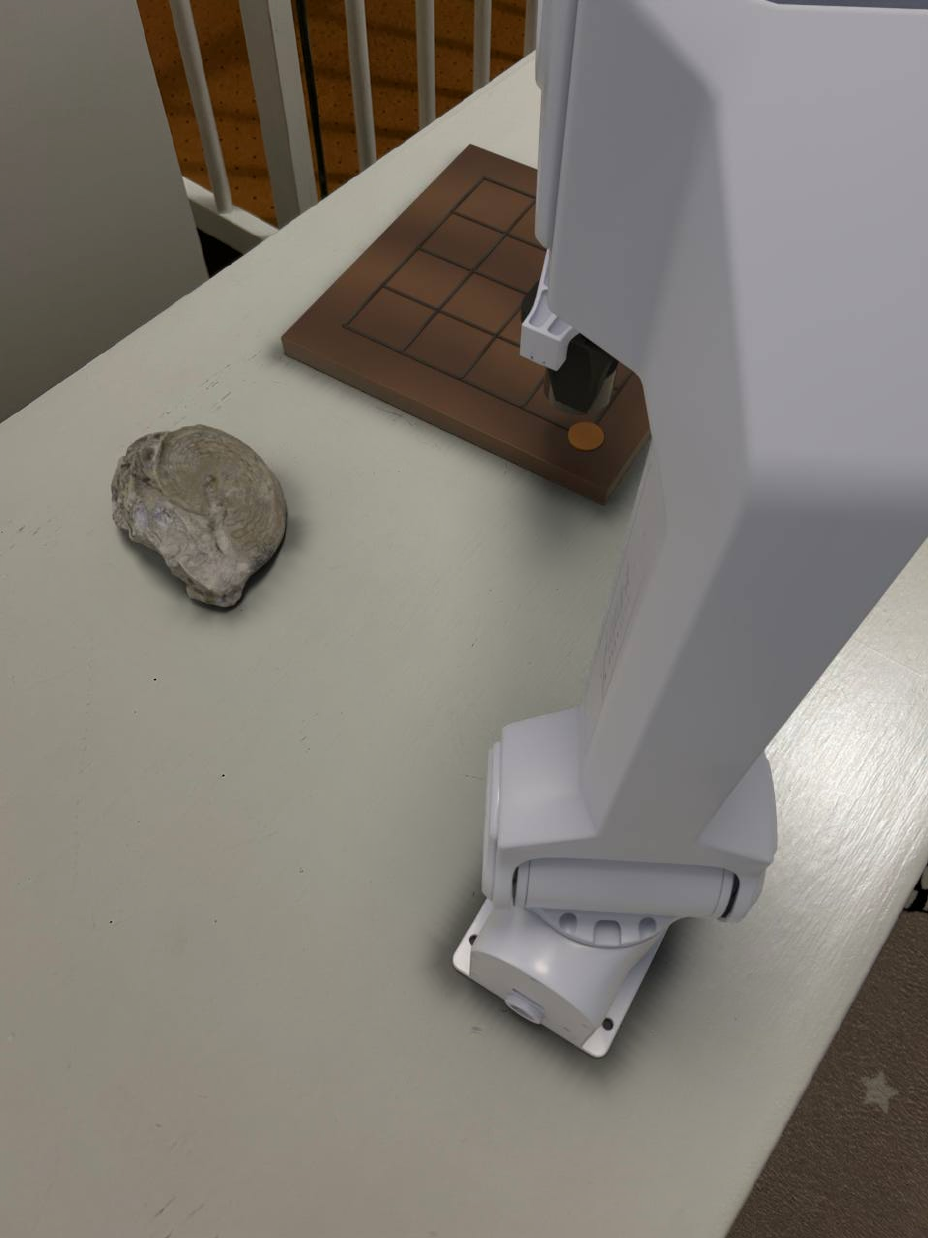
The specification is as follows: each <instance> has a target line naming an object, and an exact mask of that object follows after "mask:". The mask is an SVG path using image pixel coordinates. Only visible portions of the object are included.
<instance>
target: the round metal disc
mask: <svg viewBox="0 0 928 1238" xmlns="http://www.w3.org/2000/svg"><path fill="white" fill-rule="evenodd" d="M618 366H619V361H618V360H617V359H615V360H614V361H613V362H612V363H611V365H610V367H609V369H608V372H607V374H606V377H605V380H604V383H603V385H602V388H601V391H600V393H599V395H598V397H597V399H596V401H595V402H594V404H593V405H592V406H591V408H590V409H589V411H588V412H587V413H582V412H580V411H577V410H575V409H573V408H571V407H569V406H566V405H564V404H562V403H560V402H558V401H555V398H554V394H553V391H552V386H551V382H550V377H549V373H548V369H547V367H546V366H545V375H544V384H543V389H544V394H545V396H546V398H547V400H548V401H549V402H550V403H551V404H552V405H553V406H554V407H555V408H557V409H558V410H560V411H562V412H565V413H568V414H572V415H588V414H592V413H596V412H598V411H600V410H602V409H603V408H604V407H605V406H606V405H607V404H608V403H609V402H610V401H611V398H612V396H613V392H614V387H615V381H616V376H617V371H618Z"/></svg>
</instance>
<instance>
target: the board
mask: <svg viewBox="0 0 928 1238" xmlns="http://www.w3.org/2000/svg"><path fill="white" fill-rule="evenodd" d="M537 170H538V168H535V167H532V166H529V165H527V164H525V163H522V162H519V161H517V160H514V159H511V158H509V157H507V156H504V155H501V154H499V153H496V152H493V151H491V150H488V149H485V148H482V147H481V146H478V145H474V144H473V143H469V144H468V145H467V146H466V147H465V148H463V150H462V151H461V152H460V153H459V154H458V155H457V156H456V157H455V158H454V159H453V160H452V161H451V162H450V163H449V164H448V165H447V166H446V167H445V168H444V170H442V171H441V172H440V173H439V175H438V176H436V177H435V179H433V181H432V182H431V183H430V184H429V185H428V186H426V188H425V189H424V190H423V191H421V193H420V194H419V195H418V196H417V197H416V198H415V199H414V200H413V201H412V202H411V203H410V204H409V205H408V206H407V207H406V208H405V209H404V210H403V211H402V212H401V213H400V214H399V216H398V217H397V218H395V219H394V221H392V222H391V224H389V225H388V226H387V228H386V229H385V230H383V232H381V234H380V235H379V236H378V237H377V238H376V239H375V240H374V241H373V242H372V243H371V244H370V245H369V246H368V247H367V248H366V249H365V250H364V251H363V252H362V253H361V254H360V256H358V258H356V259H355V261H353V263H351V265H350V266H348V268H346V270H345V271H344V272H343V273H342V274H341V275H339V277H338V278H337V279H336V280H335V281H334V282H333V283H332V284H331V285H330V286H329V287H328V288H327V289H326V290H325V291H324V292H323V293H322V294H321V296H319V297H318V298H317V300H315V301H314V302H313V303H312V304H311V305H310V306H309V307H308V308H307V310H306V311H305V312H304V313H303V314H302V315H301V316H300V317H299V318H298V319H297V320H296V321H295V322H294V323H293V324H292V325H291V326H290V327H289V328H288V329H287V330H286V331H285V332H284V333H283V334H282V335H281V336H280V340H281V341H280V342H281V346H282V350H283V354H284V355H286V356H289V357H291V358H293V359H294V360H297V361H299V362H300V363H303V364H305V365H308V366H310V367H312V368H313V369H316V370H317V371H320V372H322V373H324V374H326V375H328V376H331V377H333V378H335V379H337V380H339V381H341V382H343V383H345V384H347V385H349V386H351V387H354V388H356V389H358V390H359V391H362V392H364V393H366V394H368V395H370V396H372V397H375V398H376V399H379V400H380V401H383V402H385V403H387V404H389V405H390V406H391V405H392V406H393V407H396V408H398V409H400V410H402V411H404V412H406V413H408V414H410V415H412V416H415V417H417V418H419V419H421V420H423V421H425V422H427V423H429V424H431V425H433V426H435V427H438V428H440V429H442V430H444V431H446V432H449V433H450V434H453V435H455V436H457V437H458V438H461V439H463V440H465V441H468V442H469V443H471V444H474V445H476V446H478V447H480V448H481V449H484V450H485V451H488V452H490V453H493V454H494V455H497V456H499V457H501V458H503V459H505V460H507V461H509V462H511V463H513V464H515V465H518V466H520V467H522V468H524V469H527V470H528V471H530V472H533V473H534V474H537V475H539V476H541V477H543V478H545V479H548V480H549V481H551V482H554V483H556V484H557V485H559V486H562V487H564V488H566V489H568V490H570V491H572V492H575V493H577V494H579V495H580V496H583V497H584V498H587V499H589V500H591V501H594V502H596V503H597V504H600V505H602V506H605V504H606V503H607V501H608V500H609V499H610V497H611V495H612V494H613V492H614V491H615V490H616V488H617V486H618V485H619V484H620V482H621V480H622V479H623V477H624V476H625V475H626V473H627V471H629V469H630V467H631V465H632V464H633V462H634V461H635V460H636V458H637V456H638V455H639V454H640V452H641V450H642V449H643V447H644V446H645V445H646V443H647V441H648V440H649V438H650V437H651V430H650V424H649V418H648V413H647V407H646V401H645V395H644V390H643V385H642V382H641V379H640V378H639V377H638V376H637V374H636V373H635V372H633V371H632V370H631V369H629V368H628V367H627V366H625V365H624V364H622V363H621V362H620V361H619V366H618V371H617V376H616V381H615V387H614V392H613V396H612V398H611V401H610V402H609V403H608V404H607V405H606V406H605V407H604V408H603V409H602V410H600V411H598V412H596V413H592V414H588V415H572V414H568V413H565V412H562V411H560V410H558V409H557V408H555V407H554V406H553V405H552V404H551V403H550V402H549V401H548V400H547V398H546V396H545V394H544V389H543V384H544V375H545V366H542V365H540V364H538V363H536V362H533V361H531V360H530V359H528V358H525V357H523V356H521V355H520V344H521V330H522V322H521V304H522V300H523V298H524V297H525V296H526V294H527V293H528V292H529V291H530V289H531V288H532V287H533V286H534V285H535V283H536V282H537V281H538V280H539V279H540V278H541V274H542V270H543V265H544V261H545V256H546V252H547V248H544V247H543V246H542V245H541V243H540V242H539V241H538V240H537V239H536V237H535V213H536V192H537Z"/></svg>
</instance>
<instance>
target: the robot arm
mask: <svg viewBox="0 0 928 1238" xmlns="http://www.w3.org/2000/svg"><path fill="white" fill-rule="evenodd" d="M536 11H537V12H536V13H537V14H536V33H535V34H536V35H535V60H534V62H535V64H534V65H535V67H534V79H535V84H536V86H537V87H538V89H539V90H540V107H539V108H540V109H539V129H538V148H537V149H538V150H537V151H538V153H537V169H538V170H537V192H536V213H535V237H536V239H537V240H538V241H539V242H540V243H541V245H542V246H543V247H544V248H547V252H546V256H545V261H544V265H543V270H542V274H541V278H540V279H539V280H538V281H537V282H536V283H535V285H534V286H533V287H532V288H531V289H530V291H529V292H528V293H527V294H526V296H525V297H524V298H523V300H522V304H521V322H522V330H521V344H520V355H521V356H523V357H525V358H528V359H530V360H531V361H533V362H536V363H538V364H540V365H542V366H546V367H547V369H548V373H549V377H550V382H551V386H552V391H553V394H554V398H555V401H558V402H560V403H562V404H564V405H566V406H569V407H571V408H573V409H575V410H577V411H580V412H582V413H587V412H588V411H589V409H590V408H591V406H592V405H593V404H594V402H595V401H596V399H597V397H598V395H599V393H600V391H601V388H602V385H603V383H604V380H605V377H606V374H607V372H608V369H609V367H610V365H611V363H612V362H613V361H614V360H615V359H617V360H618V361H620V362H621V363H622V364H624V365H625V366H627V367H628V368H629V369H631V370H632V371H633V372H635V373H636V374H637V376H638V377H639V378H640V379H641V382H642V385H643V390H644V395H645V401H646V407H647V413H648V418H649V424H650V430H651V435H650V437H651V441H650V444H649V449H648V452H647V456H646V460H645V464H644V467H643V470H642V475H641V478H640V483H639V485H638V489H637V492H636V496H635V501H634V504H633V509H632V511H631V515H630V517H629V522H628V526H627V529H626V534H625V537H624V540H623V544H622V548H621V552H620V555H619V559H618V563H617V566H616V570H615V573H614V576H613V581H612V585H611V588H610V592H609V596H608V599H607V603H606V607H605V610H604V614H603V618H602V621H601V624H600V629H599V633H598V636H597V639H596V644H595V647H594V650H593V654H592V658H591V661H590V665H589V669H588V672H587V676H586V681H585V684H584V686H583V691H582V694H581V698H580V702H579V704H578V705H576V706H572V707H569V708H565V709H561V710H557V711H552V712H549V713H545V714H540V715H537V716H532V717H528V718H525V719H520V720H517V721H513V722H510V723H507V724H505V725H503V726H502V728H501V737H500V739H499V740H497V741H495V742H494V743H493V746H492V747H491V748H490V749H489V750H488V753H487V766H486V767H487V768H486V785H485V805H484V821H483V822H484V823H483V825H484V826H483V847H482V866H481V867H482V870H481V892H482V894H483V895H484V896H485V897H486V899H485V901H484V902H483V904H482V906H481V908H480V909H479V911H478V912H477V914H476V916H475V917H474V919H473V921H472V922H471V924H470V926H469V928H467V931H466V932H465V934H464V935H463V938H462V939H461V941H460V943H459V945H458V946H457V948H456V950H455V951H454V953H453V956H452V965H453V967H454V968H455V969H456V971H458V972H460V973H461V974H463V975H464V976H466V977H467V978H468V979H470V980H472V981H473V982H475V983H477V984H478V985H480V986H482V987H483V988H485V989H486V990H487V991H489V992H491V993H492V994H494V995H496V996H497V997H499V998H500V999H502V1000H503V1001H504V1003H505V1005H507V1007H509V1008H510V1009H511V1010H512V1011H513V1012H515V1013H516V1014H518V1015H519V1016H521V1017H523V1018H524V1019H526V1020H528V1021H530V1022H531V1023H534V1024H537V1025H543V1026H544V1027H545V1028H547V1029H549V1030H550V1031H552V1032H554V1033H555V1034H557V1035H558V1036H560V1037H561V1038H563V1040H566V1041H568V1042H569V1043H571V1044H572V1045H574V1046H575V1047H576V1048H578V1049H580V1050H581V1051H583V1052H585V1053H586V1054H588V1055H589V1056H591V1057H593V1058H598V1059H599V1058H602V1057H603V1056H604V1057H605V1055H606V1054H607V1053H608V1051H609V1049H610V1047H611V1045H612V1043H613V1041H614V1038H615V1037H616V1035H617V1033H618V1032H619V1029H620V1027H621V1025H622V1023H623V1021H624V1019H625V1017H626V1015H627V1013H628V1010H629V1008H630V1007H631V1004H632V1002H633V1000H634V998H635V996H636V995H637V992H638V991H639V988H640V985H641V984H642V982H643V980H644V979H645V976H646V974H647V972H648V970H649V968H650V966H651V963H652V961H653V960H654V958H655V955H656V953H657V951H658V949H659V948H660V945H661V943H662V941H663V939H664V937H665V935H666V933H667V931H668V929H669V927H670V926H671V925H672V924H673V923H675V922H676V921H678V920H680V919H684V918H700V919H707V918H708V919H717V921H719V922H723V923H730V924H737V923H740V922H742V921H743V920H744V919H745V918H746V916H747V915H748V914H749V911H750V910H751V909H753V907H754V906H755V905H756V904H757V902H758V900H759V899H760V896H761V894H762V891H763V888H764V884H765V879H766V872H767V869H768V868H769V867H770V866H771V865H772V864H773V863H774V860H775V854H776V853H777V851H778V847H779V846H778V843H779V842H778V841H779V839H778V838H779V837H778V835H779V834H778V813H777V801H776V800H777V799H776V792H775V785H774V779H773V773H772V768H771V764H770V763H771V762H770V760H769V759H768V757H767V754H766V749H767V748H768V746H769V745H770V743H771V742H772V741H773V740H774V739H775V737H776V736H777V735H778V733H779V732H780V730H781V729H782V728H783V726H784V725H785V724H786V723H787V722H788V720H789V719H790V718H791V716H792V715H793V714H794V712H795V711H796V710H797V709H798V707H799V706H800V705H801V703H802V702H803V701H804V699H805V698H806V697H807V695H808V694H809V693H810V692H811V690H812V689H813V688H814V686H815V685H816V684H817V682H818V681H819V680H820V679H821V677H822V676H823V675H824V674H825V671H827V669H829V667H830V666H831V664H832V663H833V661H835V659H836V657H837V656H838V655H839V654H840V652H841V651H842V650H843V649H844V647H845V646H846V645H847V643H848V642H849V641H850V640H851V638H852V637H853V635H854V634H855V633H856V632H857V630H858V629H859V628H860V627H861V625H862V624H863V622H864V621H865V619H866V618H867V617H868V616H869V615H870V614H871V612H872V611H873V609H874V608H875V607H876V605H877V604H878V603H879V602H880V601H881V599H882V597H884V595H885V594H886V592H887V591H888V590H889V589H890V588H891V586H892V584H894V582H895V580H897V578H898V577H899V575H900V574H901V573H902V572H903V570H904V569H905V568H906V566H907V565H908V564H909V562H910V561H911V560H912V559H913V557H914V556H915V554H916V553H917V552H918V550H920V548H921V547H922V545H923V544H924V543H925V541H926V540H927V539H928V0H537V9H536ZM473 937H475V939H474V941H473V943H472V944H471V943H470V940H471V938H473ZM605 1020H609V1021H610V1022H611V1024H612V1025H611V1026H612V1028H611V1029H606V1028H604V1026H603V1023H604V1021H605Z"/></svg>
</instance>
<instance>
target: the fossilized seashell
mask: <svg viewBox="0 0 928 1238" xmlns="http://www.w3.org/2000/svg"><path fill="white" fill-rule="evenodd" d="M110 490H111V491H110V492H111V508H112V515H111V517H112V521H113V523H114V524H115V526H116V527H117V528H119V529H120V530H124V531H126V532H128V538H129V539H130V541H132V542H133V543H138V544H142V545H143V546H146V547H147V548H149V549H150V550H153V551H155V552H157V553H158V554H159V555H160V556H162V558H163V560H164V562H165V564H166V566H167V567H168V568H169V570H170V572H171V574H172V575H173V576H174V577H176V578H178V579H180V580H181V581H182V582H184V583H185V584H186V586H185V589H186V593H187V595H188V597H189V598H190V599H193V600H197V601H199V602H201V603H205V604H206V605H214V606H216V607H217V606H218V607H221V608H229V607H231V606H235V604H236V603H237V601H239V600H240V599H241V597H242V595H243V590H244V588H245V586H246V582H249V579H250V577H252V575H254V574H255V573H257V572H258V571H259V570H260V569H261V568H262V567H263V566H264V565H265V564H266V563H267V562H269V560H270V559H271V558H272V557H273V555H274V554H275V553H276V551H277V549H278V548H279V546H280V544H282V541H283V538H284V535H285V531H286V525H287V511H288V507H287V501H286V499H285V498H284V492H283V488H282V485H281V483H280V481H279V479H278V478H277V476H276V475H275V473H274V472H273V471H272V469H271V468H270V467H269V466H268V464H267V463H265V461H264V460H263V458H262V457H261V456H260V455H259V454H258V453H257V452H256V450H255V449H254V448H252V447H251V446H250V445H248V444H247V443H245V442H244V441H243V440H241V439H240V438H237V437H236V436H235V435H232V434H230V433H227V432H226V431H224V430H222V429H220V428H215V427H212V426H210V425H206V424H202V423H197V424H195V425H185V426H181V427H180V428H178V429H175V430H165V431H164V430H163V431H156V432H153V433H147V434H145V435H143V436H140V437H139V438H137V439H135V440H134V441H133V442H132V443H130V445H128V446H127V448H126V451H125V455H122V456H120V457H119V458H118V461H117V464H116V468H115V470H114V474H113V476H112V480H111V484H110Z"/></svg>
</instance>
